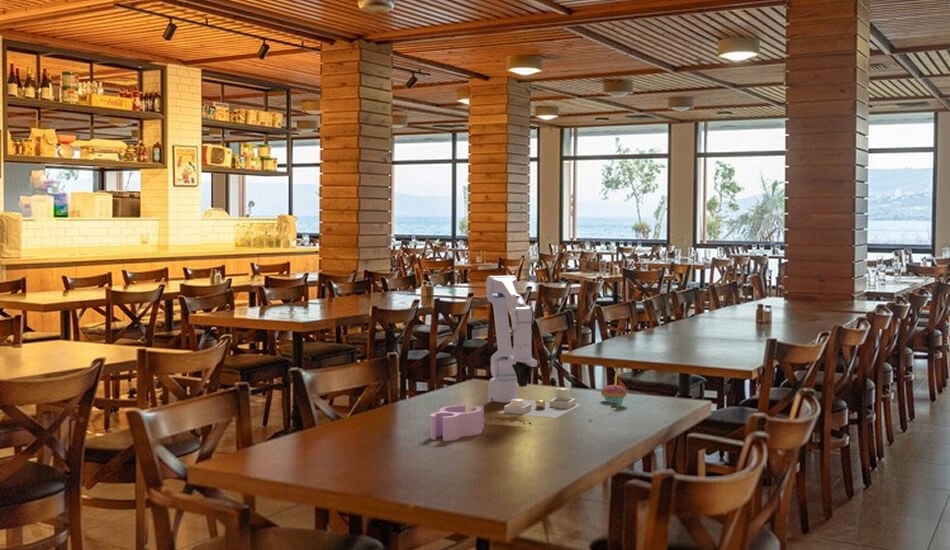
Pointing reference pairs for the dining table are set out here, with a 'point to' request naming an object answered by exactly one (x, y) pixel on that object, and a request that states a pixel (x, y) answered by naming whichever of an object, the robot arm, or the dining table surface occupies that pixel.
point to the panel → (551, 409)
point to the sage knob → (562, 394)
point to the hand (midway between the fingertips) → (522, 386)
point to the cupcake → (614, 393)
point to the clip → (456, 422)
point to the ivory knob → (518, 402)
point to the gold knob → (540, 404)
